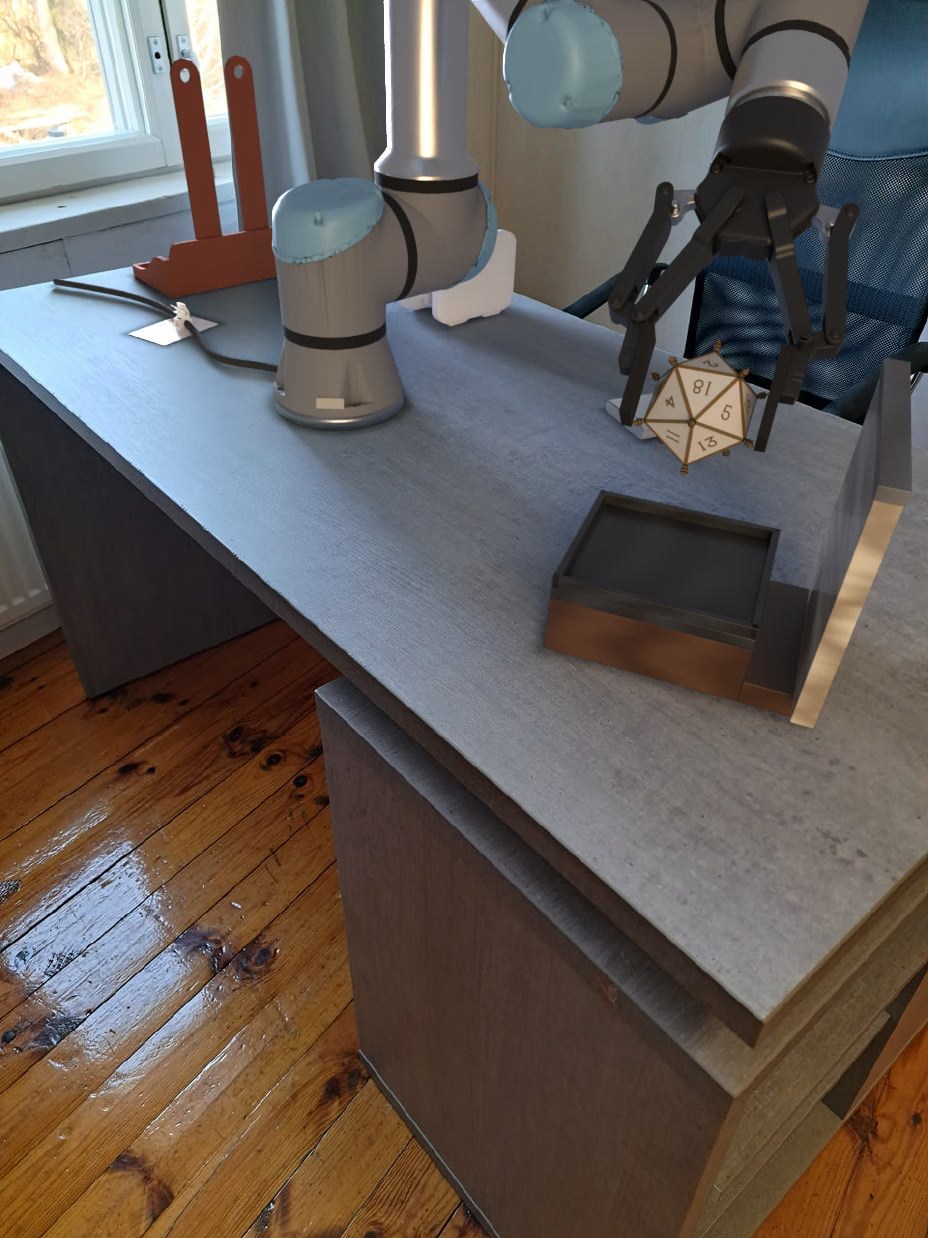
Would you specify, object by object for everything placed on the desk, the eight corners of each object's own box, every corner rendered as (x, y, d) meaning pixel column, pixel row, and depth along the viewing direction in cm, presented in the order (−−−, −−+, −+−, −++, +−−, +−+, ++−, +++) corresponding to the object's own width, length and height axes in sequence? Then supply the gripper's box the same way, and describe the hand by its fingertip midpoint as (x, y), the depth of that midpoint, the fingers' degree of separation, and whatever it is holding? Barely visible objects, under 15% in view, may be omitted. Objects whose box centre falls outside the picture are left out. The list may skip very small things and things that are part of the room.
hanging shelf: (267, 250, 149) (245, 43, 131) (308, 269, 142) (290, 53, 123) (134, 275, 137) (88, 51, 118) (170, 297, 129) (127, 61, 110)
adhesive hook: (195, 326, 120) (192, 303, 118) (182, 331, 119) (177, 309, 117) (180, 321, 122) (176, 299, 120) (166, 327, 120) (162, 304, 118)
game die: (660, 509, 65) (596, 414, 59) (687, 429, 69) (629, 332, 63) (777, 490, 59) (717, 382, 53) (799, 403, 63) (745, 294, 57)
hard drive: (643, 428, 96) (735, 411, 100) (606, 398, 102) (694, 383, 106) (641, 441, 97) (732, 424, 101) (605, 411, 103) (692, 396, 107)
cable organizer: (434, 332, 121) (434, 246, 114) (390, 311, 128) (388, 227, 120) (513, 311, 129) (518, 229, 121) (469, 292, 135) (471, 213, 128)
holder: (531, 671, 66) (557, 420, 53) (600, 538, 81) (634, 316, 68) (806, 751, 61) (912, 492, 47) (826, 592, 75) (910, 361, 62)
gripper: (924, 179, 61) (845, 480, 59) (630, 148, 67) (550, 422, 65) (957, 103, 54) (867, 443, 52) (624, 76, 60) (534, 381, 58)
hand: (691, 431), depth 59 cm, fingers closed on game die, 8 cm apart
